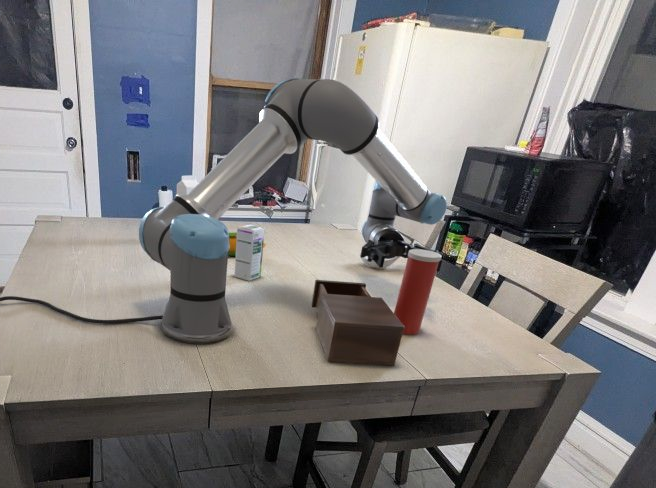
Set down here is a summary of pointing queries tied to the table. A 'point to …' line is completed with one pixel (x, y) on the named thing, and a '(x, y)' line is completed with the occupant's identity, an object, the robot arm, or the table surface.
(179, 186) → the milk
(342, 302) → the cabinet
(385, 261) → the spoon rest
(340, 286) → the drawer
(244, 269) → the syrup box
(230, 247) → the corn
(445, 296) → the table surface
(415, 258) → the crisps tube
